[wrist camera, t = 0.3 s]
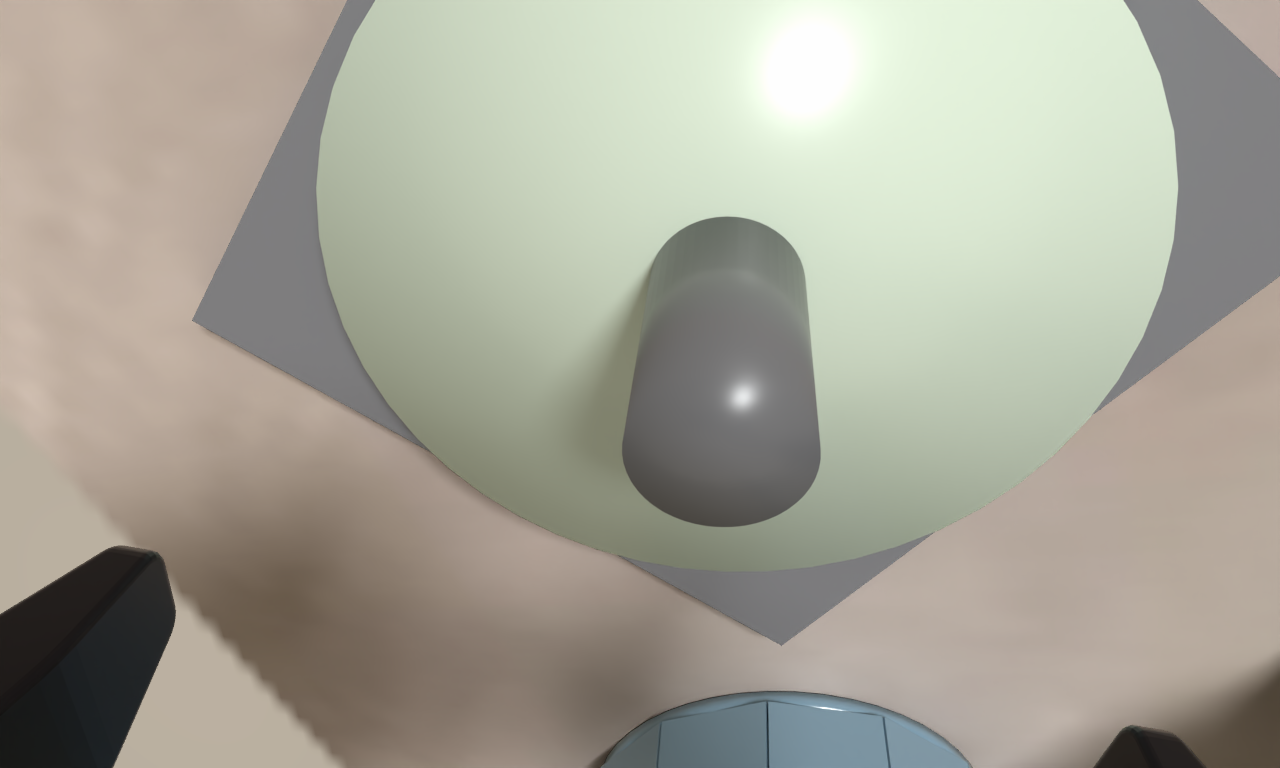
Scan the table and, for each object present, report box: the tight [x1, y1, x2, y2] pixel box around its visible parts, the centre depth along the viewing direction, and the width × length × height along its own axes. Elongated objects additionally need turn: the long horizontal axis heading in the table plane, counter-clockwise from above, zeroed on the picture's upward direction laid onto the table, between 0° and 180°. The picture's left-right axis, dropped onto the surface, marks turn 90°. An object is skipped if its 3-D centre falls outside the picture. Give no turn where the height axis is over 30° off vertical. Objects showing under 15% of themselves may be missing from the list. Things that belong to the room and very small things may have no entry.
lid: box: [316, 0, 1178, 572], centre depth 17 cm, size 16×16×6 cm
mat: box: [192, 0, 1280, 646], centre depth 20 cm, size 17×17×1 cm
